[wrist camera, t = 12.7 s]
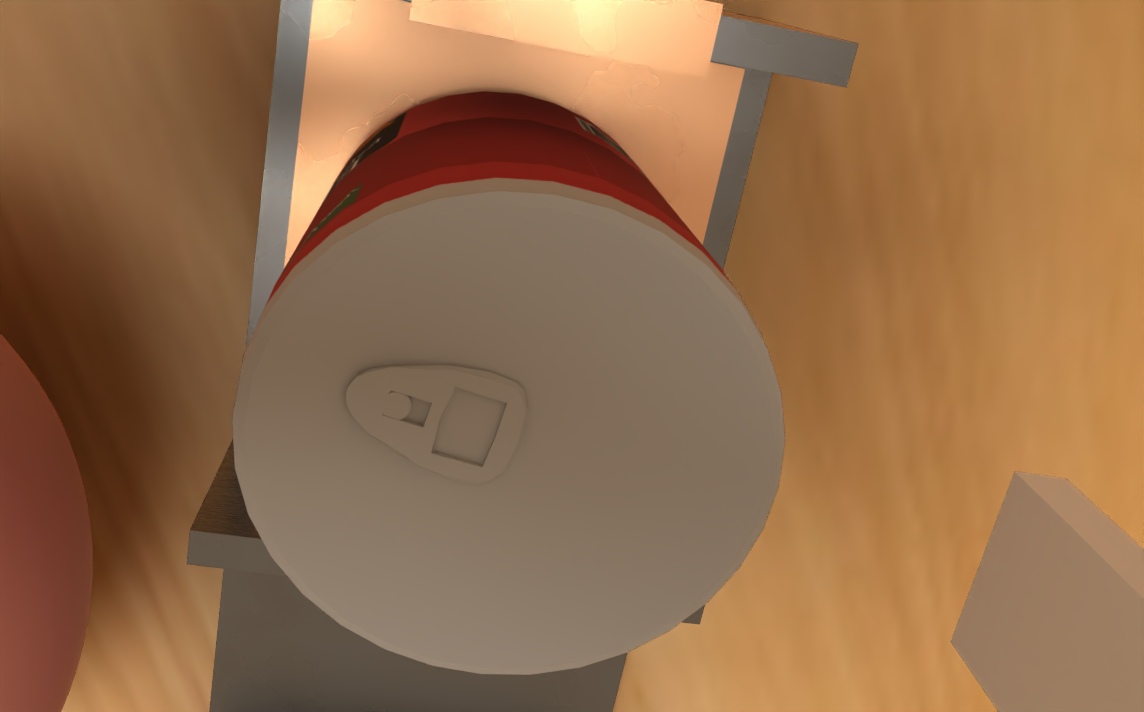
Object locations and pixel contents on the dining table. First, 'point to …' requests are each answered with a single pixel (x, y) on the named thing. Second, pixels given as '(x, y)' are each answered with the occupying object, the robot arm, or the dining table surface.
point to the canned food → (505, 398)
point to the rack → (324, 146)
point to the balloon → (39, 546)
